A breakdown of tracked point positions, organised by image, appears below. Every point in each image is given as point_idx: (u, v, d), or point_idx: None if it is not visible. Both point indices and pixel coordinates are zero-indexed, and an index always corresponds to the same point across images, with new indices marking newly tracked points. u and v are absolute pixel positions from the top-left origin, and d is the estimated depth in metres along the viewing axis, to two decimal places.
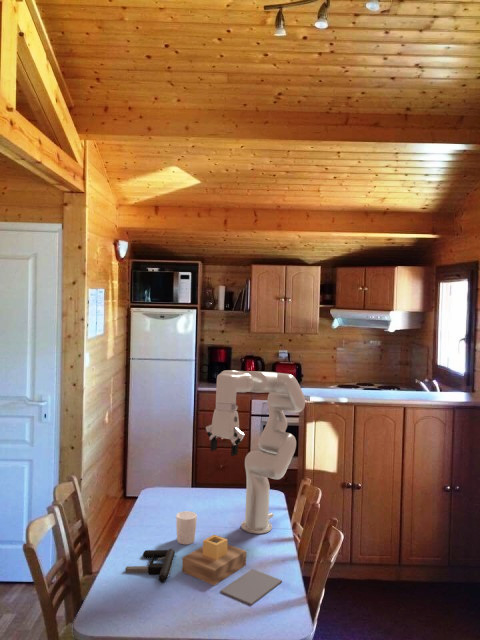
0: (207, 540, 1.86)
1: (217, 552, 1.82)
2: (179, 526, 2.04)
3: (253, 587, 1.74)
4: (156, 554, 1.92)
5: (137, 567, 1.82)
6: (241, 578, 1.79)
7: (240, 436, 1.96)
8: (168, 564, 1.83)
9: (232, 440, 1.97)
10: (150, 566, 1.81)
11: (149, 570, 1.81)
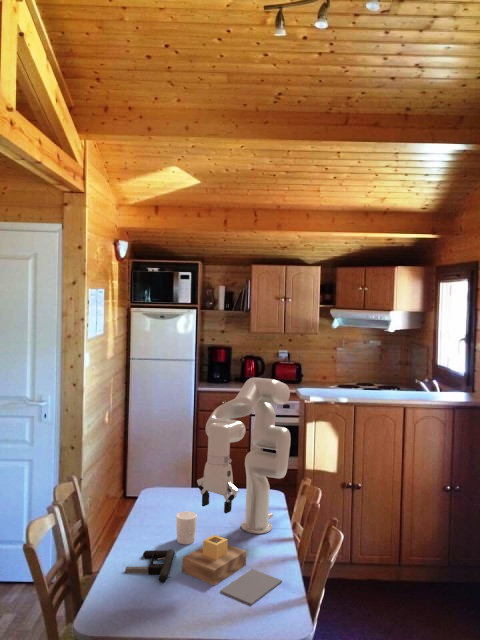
0: (207, 540, 1.86)
1: (217, 552, 1.82)
2: (179, 526, 2.04)
3: (253, 587, 1.74)
4: (156, 554, 1.92)
5: (137, 567, 1.82)
6: (241, 578, 1.79)
7: (234, 492, 1.81)
8: (168, 564, 1.83)
9: (225, 496, 1.82)
10: (150, 566, 1.81)
11: (149, 570, 1.81)
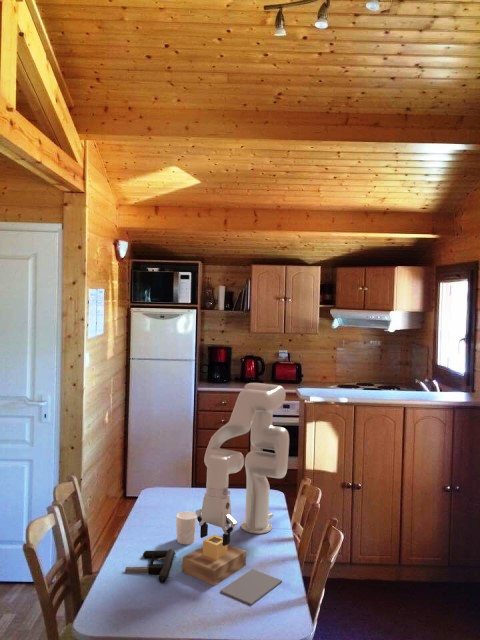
0: (207, 540, 1.86)
1: (217, 552, 1.82)
2: (179, 526, 2.04)
3: (253, 587, 1.74)
4: (156, 554, 1.92)
5: (137, 568, 1.82)
6: (241, 578, 1.79)
7: (232, 525, 1.81)
8: (168, 565, 1.83)
9: (224, 529, 1.82)
10: (150, 567, 1.81)
11: (149, 571, 1.80)
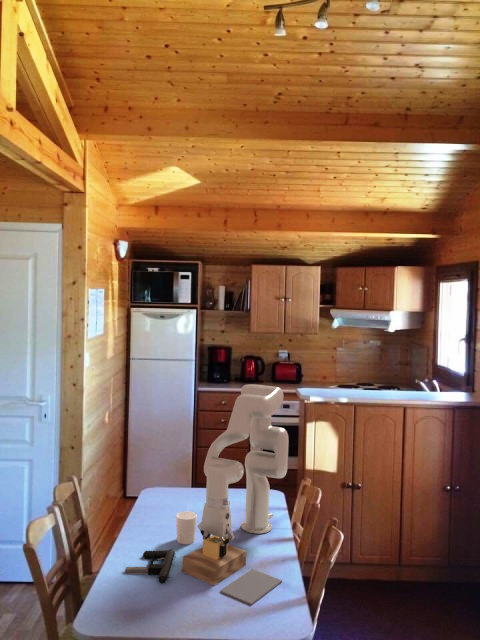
0: (207, 540, 1.86)
1: (217, 552, 1.82)
2: (179, 526, 2.04)
3: (253, 587, 1.74)
4: (156, 555, 1.92)
5: (137, 568, 1.82)
6: (241, 578, 1.79)
7: (230, 538, 1.82)
8: (168, 565, 1.82)
9: (221, 540, 1.83)
10: (150, 567, 1.81)
11: (149, 571, 1.80)
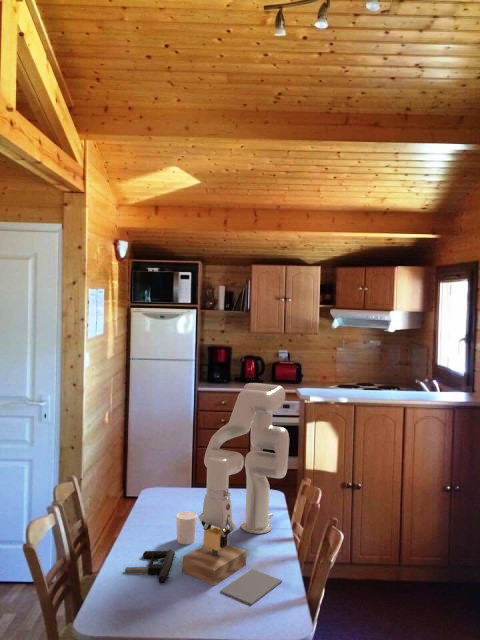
0: (208, 531, 1.86)
1: (218, 543, 1.83)
2: (179, 526, 2.04)
3: (253, 587, 1.74)
4: (156, 555, 1.91)
5: (137, 568, 1.82)
6: (241, 578, 1.79)
7: (230, 529, 1.82)
8: (168, 565, 1.82)
9: (222, 531, 1.83)
10: (150, 567, 1.81)
11: (149, 571, 1.80)
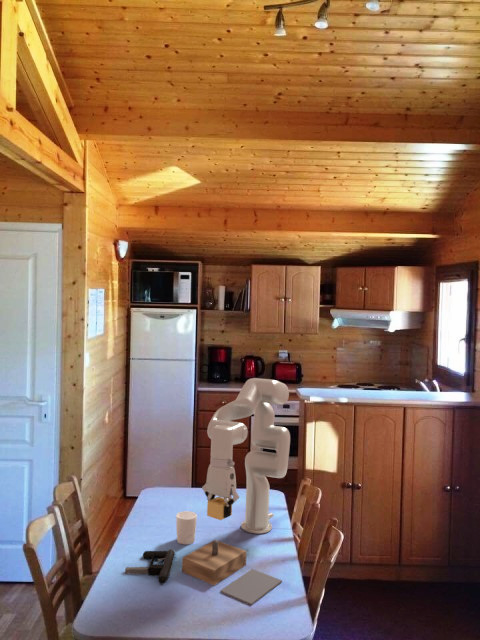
0: (211, 501, 1.84)
1: (221, 512, 1.81)
2: (179, 526, 2.04)
3: (253, 587, 1.74)
4: (156, 555, 1.91)
5: (137, 568, 1.82)
6: (241, 578, 1.79)
7: (234, 498, 1.80)
8: (168, 565, 1.82)
9: (226, 501, 1.82)
10: (150, 567, 1.81)
11: (149, 571, 1.80)
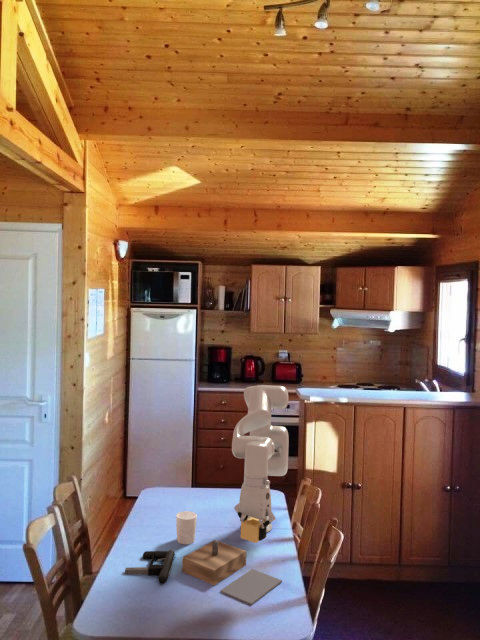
0: (245, 522, 1.73)
1: (256, 535, 1.70)
2: (179, 526, 2.04)
3: (253, 587, 1.74)
4: (156, 555, 1.91)
5: (137, 568, 1.81)
6: (241, 578, 1.79)
7: (270, 519, 1.70)
8: (168, 565, 1.82)
9: (261, 522, 1.71)
10: (150, 567, 1.81)
11: (149, 571, 1.80)
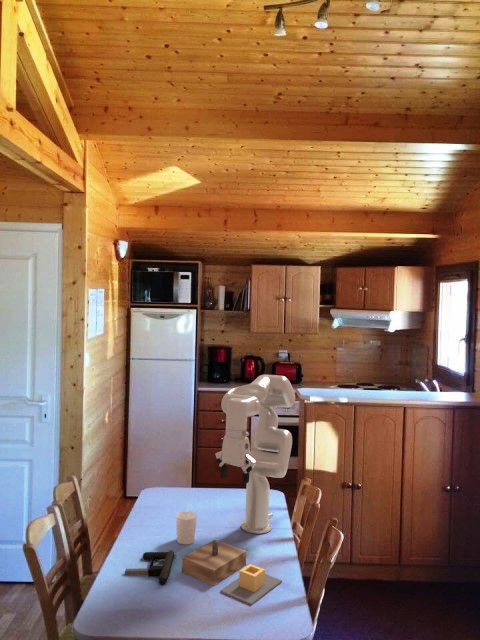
0: (243, 570, 1.74)
1: (255, 584, 1.71)
2: (179, 526, 2.04)
3: None
4: (156, 556, 1.90)
5: (137, 569, 1.81)
6: None
7: (252, 464, 1.89)
8: (168, 566, 1.81)
9: (243, 468, 1.90)
10: (150, 568, 1.80)
11: (149, 572, 1.79)
